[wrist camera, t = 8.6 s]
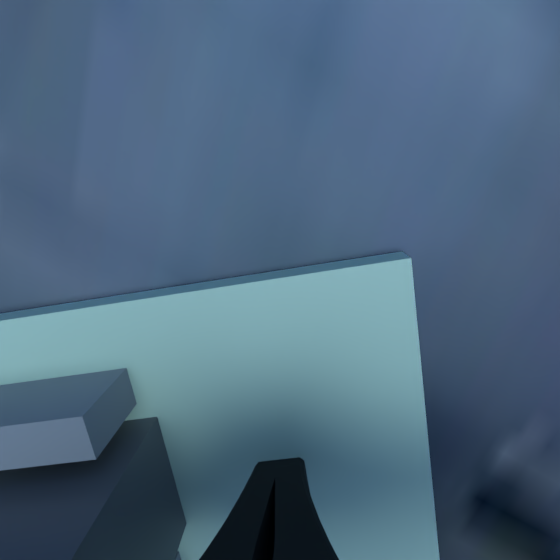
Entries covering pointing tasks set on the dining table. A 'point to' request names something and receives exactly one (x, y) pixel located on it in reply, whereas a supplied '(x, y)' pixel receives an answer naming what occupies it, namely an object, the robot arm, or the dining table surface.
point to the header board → (242, 394)
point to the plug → (96, 503)
